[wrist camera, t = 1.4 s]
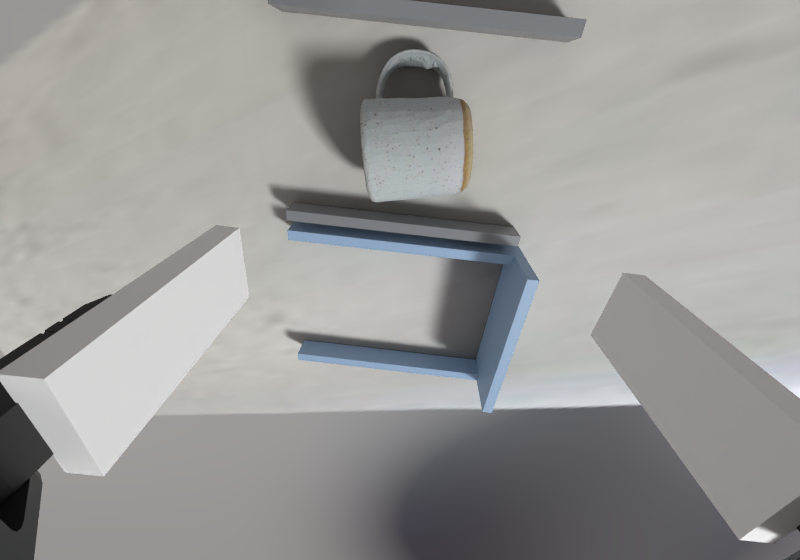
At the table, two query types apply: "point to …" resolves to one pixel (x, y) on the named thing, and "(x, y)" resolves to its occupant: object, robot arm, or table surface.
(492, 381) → the frame
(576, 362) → the table surface
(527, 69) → the table surface
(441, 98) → the ceramic mug
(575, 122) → the table surface
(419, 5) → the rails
